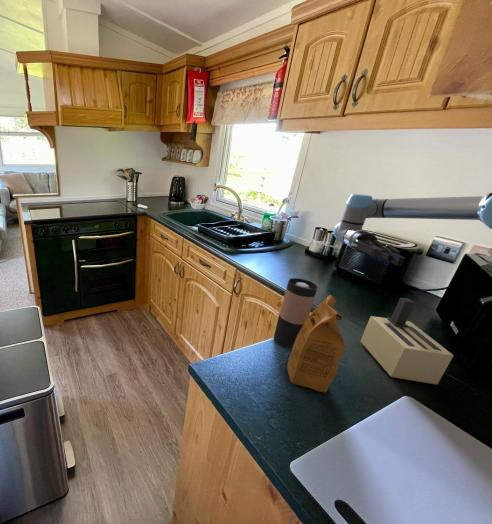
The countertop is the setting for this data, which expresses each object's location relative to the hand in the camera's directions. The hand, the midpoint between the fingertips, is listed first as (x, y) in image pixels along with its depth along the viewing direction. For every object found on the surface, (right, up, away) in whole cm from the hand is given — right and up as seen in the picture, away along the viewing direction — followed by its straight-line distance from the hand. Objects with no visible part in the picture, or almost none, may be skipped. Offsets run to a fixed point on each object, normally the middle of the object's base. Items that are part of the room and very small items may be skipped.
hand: (401, 262), depth 86 cm
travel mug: (-33, -25, +4) cm, 41 cm away
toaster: (-4, -29, -2) cm, 30 cm away
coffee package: (-34, -30, -10) cm, 47 cm away
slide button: (-3, -18, -2) cm, 18 cm away
